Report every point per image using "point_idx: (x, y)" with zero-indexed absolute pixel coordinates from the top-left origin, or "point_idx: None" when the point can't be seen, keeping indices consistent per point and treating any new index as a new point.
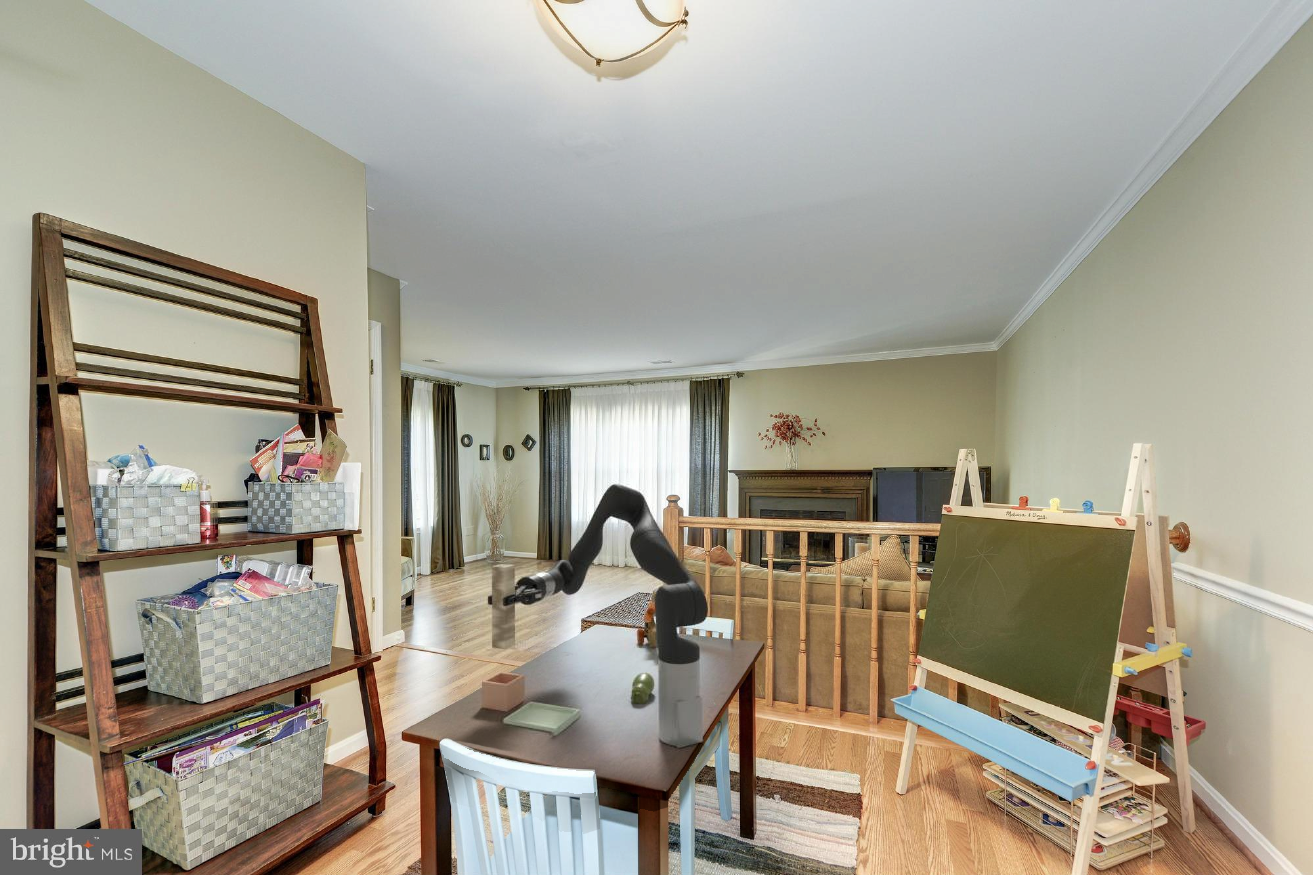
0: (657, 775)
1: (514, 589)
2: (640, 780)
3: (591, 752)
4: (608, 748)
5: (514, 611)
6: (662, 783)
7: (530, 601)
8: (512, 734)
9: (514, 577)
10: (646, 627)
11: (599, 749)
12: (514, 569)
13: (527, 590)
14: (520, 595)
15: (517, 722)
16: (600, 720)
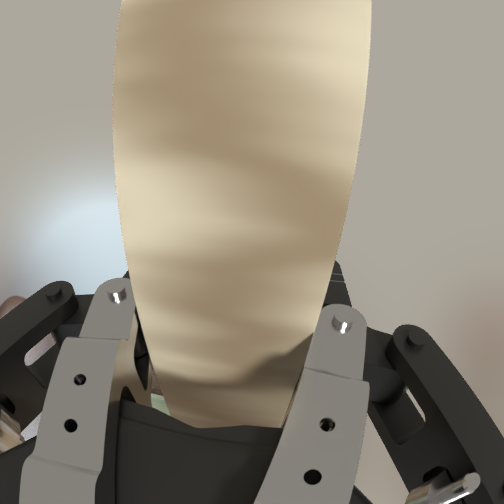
0: (8, 306)
1: (132, 273)
2: (22, 300)
3: (49, 341)
4: (32, 348)
5: (167, 400)
6: (10, 297)
7: (36, 368)
8: (157, 382)
9: (116, 126)
10: None
11: (41, 347)
12: (121, 22)
13: (22, 450)
14: (85, 310)
15: (153, 394)
16: (32, 423)
